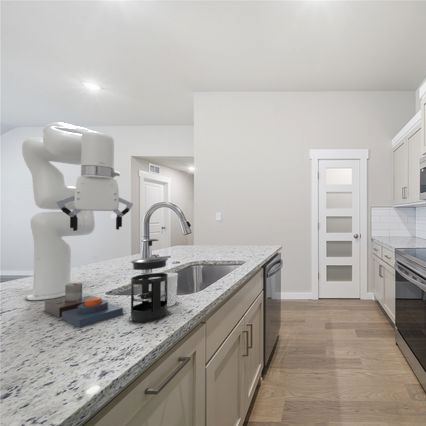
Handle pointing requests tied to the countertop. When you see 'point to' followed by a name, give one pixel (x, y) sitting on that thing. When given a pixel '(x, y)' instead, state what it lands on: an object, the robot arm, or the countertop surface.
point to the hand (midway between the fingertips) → (97, 230)
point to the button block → (92, 314)
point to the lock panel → (64, 305)
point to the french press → (149, 290)
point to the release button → (93, 301)
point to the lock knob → (73, 291)
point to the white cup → (170, 288)
